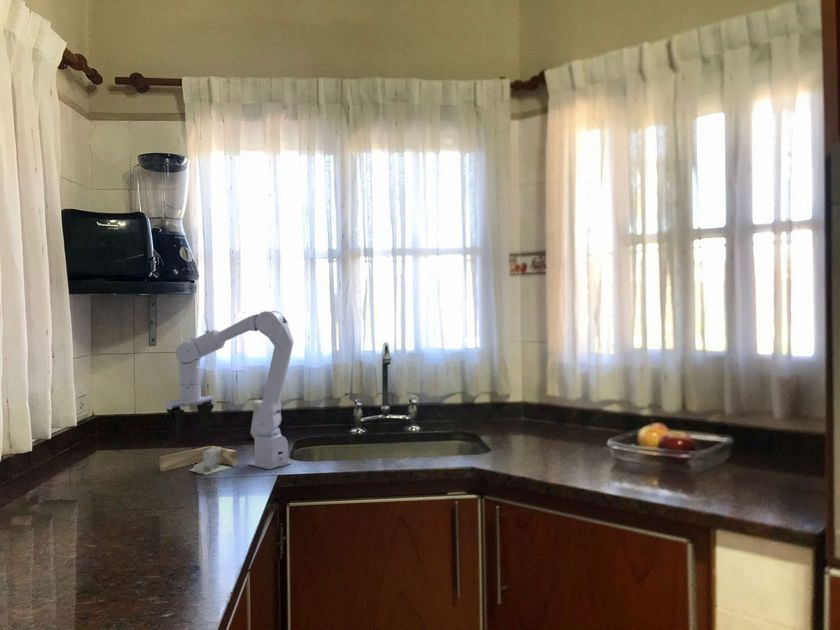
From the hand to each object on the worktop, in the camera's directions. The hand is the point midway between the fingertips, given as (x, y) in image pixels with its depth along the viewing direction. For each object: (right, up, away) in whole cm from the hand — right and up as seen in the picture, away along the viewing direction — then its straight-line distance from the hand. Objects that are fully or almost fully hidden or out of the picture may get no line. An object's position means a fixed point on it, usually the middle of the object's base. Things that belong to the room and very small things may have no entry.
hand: (191, 430), depth 181 cm
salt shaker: (+10, -10, +36) cm, 39 cm away
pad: (+7, -10, -5) cm, 13 cm away
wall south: (+8, -10, +3) cm, 13 cm away
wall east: (-1, -10, 0) cm, 10 cm away
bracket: (+7, -10, -6) cm, 13 cm away
